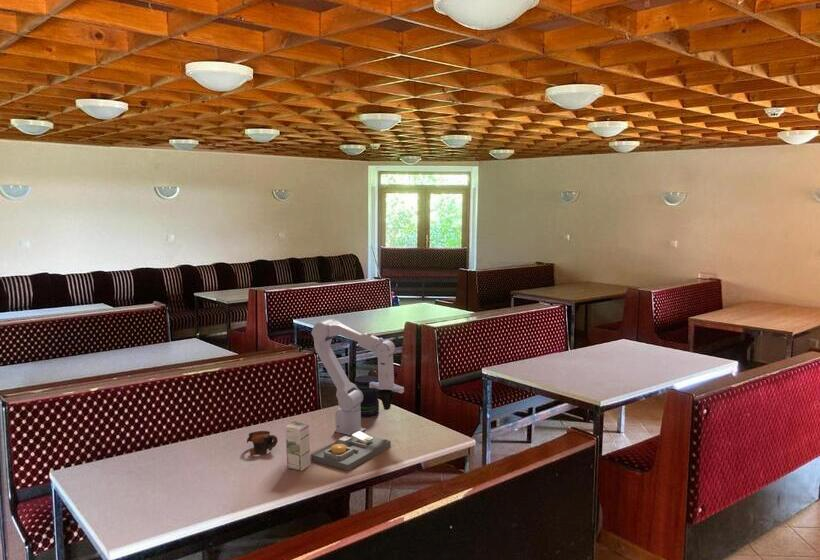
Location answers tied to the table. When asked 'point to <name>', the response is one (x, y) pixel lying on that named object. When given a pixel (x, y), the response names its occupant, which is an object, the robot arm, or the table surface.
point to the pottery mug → (261, 442)
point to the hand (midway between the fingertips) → (387, 409)
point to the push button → (338, 449)
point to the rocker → (362, 437)
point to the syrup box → (298, 445)
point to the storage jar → (368, 395)
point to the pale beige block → (345, 441)
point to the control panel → (351, 453)
